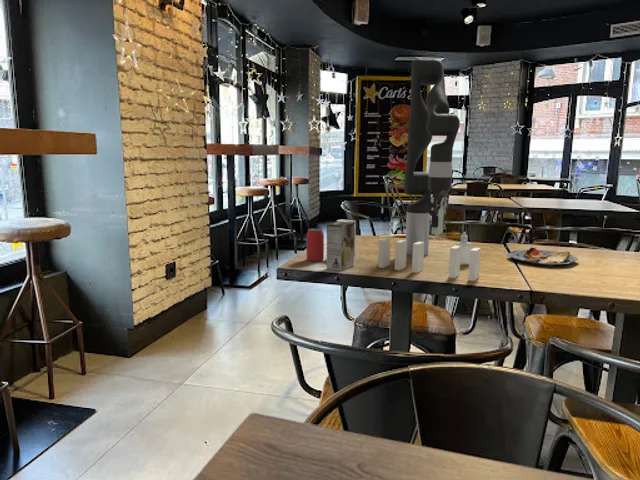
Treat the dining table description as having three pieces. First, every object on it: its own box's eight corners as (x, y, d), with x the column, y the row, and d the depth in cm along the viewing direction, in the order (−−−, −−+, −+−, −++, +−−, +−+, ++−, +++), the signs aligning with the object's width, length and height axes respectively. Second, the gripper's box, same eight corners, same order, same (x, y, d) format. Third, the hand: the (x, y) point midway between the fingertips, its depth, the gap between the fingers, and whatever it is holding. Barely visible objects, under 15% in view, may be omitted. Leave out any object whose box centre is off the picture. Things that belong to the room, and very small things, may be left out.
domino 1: (384, 264, 182) (385, 237, 180) (389, 265, 181) (390, 238, 179) (377, 267, 177) (378, 240, 175) (383, 267, 176) (383, 240, 174)
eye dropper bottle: (468, 265, 180) (470, 233, 178) (453, 263, 183) (455, 232, 181) (471, 263, 184) (473, 232, 182) (457, 261, 187) (458, 230, 185)
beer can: (321, 262, 184) (322, 231, 182) (304, 261, 185) (304, 230, 183) (325, 258, 190) (325, 228, 188) (308, 258, 192) (308, 227, 189)
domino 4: (453, 274, 168) (455, 245, 166) (459, 274, 167) (461, 246, 165) (448, 277, 164) (450, 248, 162) (454, 278, 162) (456, 248, 161)
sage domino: (437, 231, 169) (438, 202, 167) (442, 232, 168) (444, 203, 166) (431, 234, 164) (433, 204, 163) (437, 234, 163) (438, 204, 162)
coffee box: (338, 264, 182) (339, 221, 179) (354, 266, 178) (354, 222, 175) (325, 269, 174) (326, 224, 171) (341, 271, 171) (342, 225, 168)
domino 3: (417, 268, 175) (418, 241, 173) (423, 269, 174) (424, 242, 172) (411, 272, 170) (412, 243, 169) (417, 272, 169) (418, 244, 168)
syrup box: (335, 256, 195) (335, 220, 192) (344, 254, 199) (344, 218, 197) (346, 258, 191) (347, 221, 189) (355, 256, 196) (356, 220, 193)
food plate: (525, 251, 207) (526, 243, 206) (585, 261, 190) (586, 252, 190) (498, 261, 190) (499, 253, 189) (561, 273, 173) (562, 263, 173)
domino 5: (472, 276, 165) (474, 247, 163) (478, 277, 164) (480, 248, 162) (468, 280, 160) (469, 250, 158) (474, 281, 159) (476, 250, 157)
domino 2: (400, 266, 178) (401, 239, 177) (405, 267, 177) (407, 240, 176) (394, 269, 174) (395, 241, 172) (399, 270, 173) (400, 242, 171)
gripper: (444, 176, 155) (441, 229, 158) (458, 175, 167) (455, 224, 170) (421, 176, 159) (419, 227, 162) (436, 174, 171) (434, 222, 174)
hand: (437, 225), depth 166 cm, fingers closed on sage domino, 5 cm apart
